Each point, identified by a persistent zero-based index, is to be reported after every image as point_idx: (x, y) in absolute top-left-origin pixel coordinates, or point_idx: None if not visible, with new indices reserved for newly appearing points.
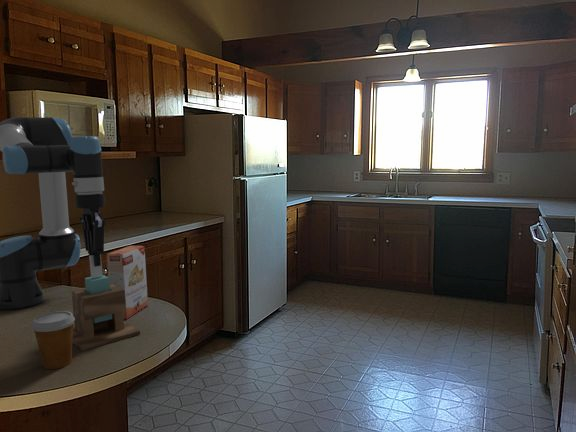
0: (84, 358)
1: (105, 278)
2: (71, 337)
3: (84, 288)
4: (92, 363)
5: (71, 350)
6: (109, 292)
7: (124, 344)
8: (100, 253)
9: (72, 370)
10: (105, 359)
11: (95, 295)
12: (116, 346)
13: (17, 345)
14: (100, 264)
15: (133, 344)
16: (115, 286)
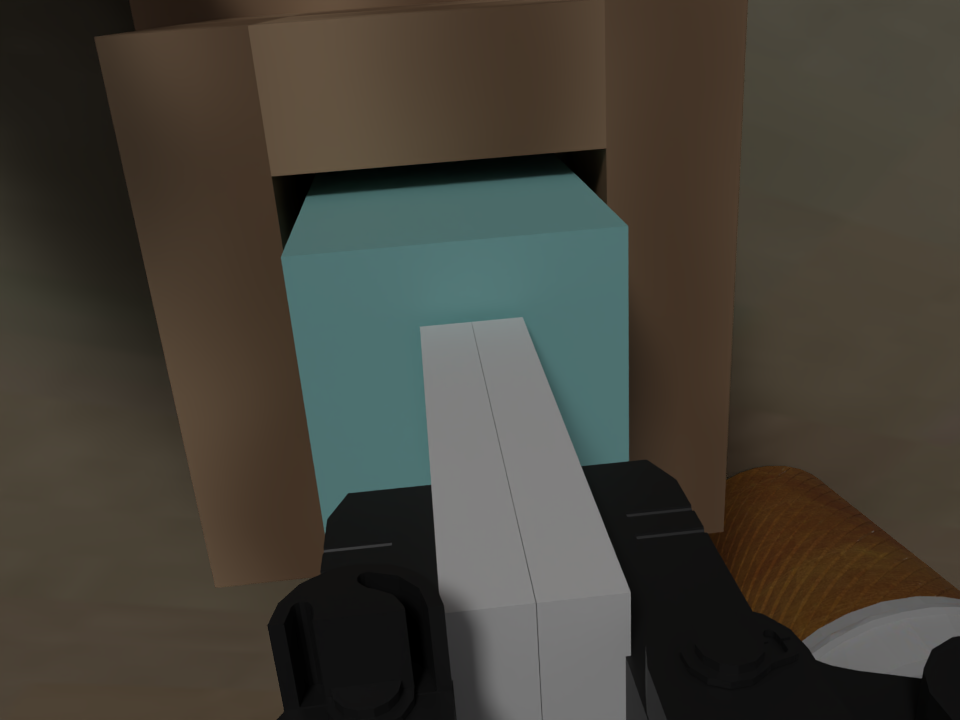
0: (807, 396)
1: (626, 290)
2: (919, 559)
3: (219, 443)
4: (924, 373)
5: (850, 507)
6: (701, 222)
7: (786, 98)
8: (845, 668)
9: (923, 483)
10: (934, 293)
11: (697, 404)
12: (776, 163)
13: (256, 685)
14: (670, 480)
15: (843, 37)
16: (423, 41)
